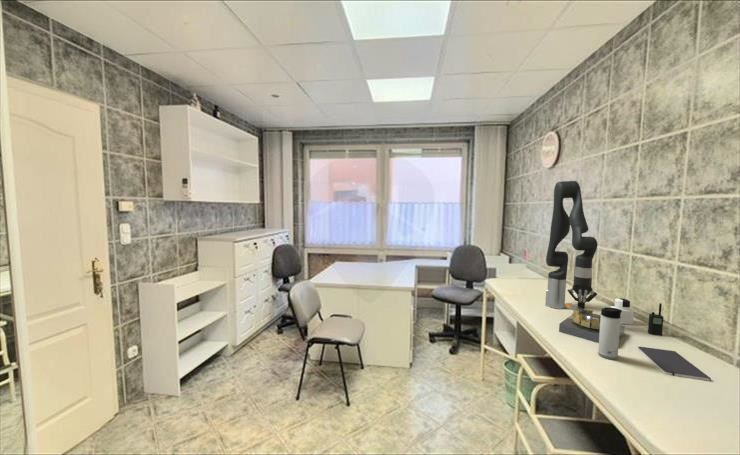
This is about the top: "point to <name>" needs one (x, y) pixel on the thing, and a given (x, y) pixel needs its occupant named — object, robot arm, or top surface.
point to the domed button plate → (584, 328)
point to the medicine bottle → (624, 310)
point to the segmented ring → (579, 316)
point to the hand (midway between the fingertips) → (581, 309)
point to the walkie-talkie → (656, 323)
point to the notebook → (673, 363)
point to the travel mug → (609, 333)
